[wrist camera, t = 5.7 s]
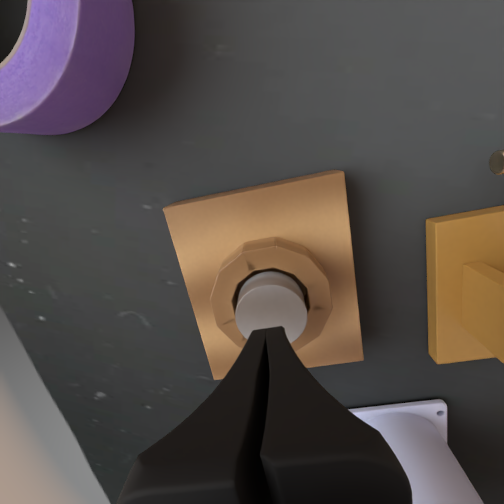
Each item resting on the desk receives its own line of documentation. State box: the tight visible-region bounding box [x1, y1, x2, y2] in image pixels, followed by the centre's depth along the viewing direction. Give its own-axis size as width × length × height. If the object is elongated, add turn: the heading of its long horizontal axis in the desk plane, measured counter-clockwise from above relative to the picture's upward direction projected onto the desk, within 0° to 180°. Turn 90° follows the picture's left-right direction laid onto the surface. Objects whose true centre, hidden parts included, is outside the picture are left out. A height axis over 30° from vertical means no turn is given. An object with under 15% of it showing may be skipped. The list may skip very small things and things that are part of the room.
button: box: [235, 271, 307, 343], centre depth 15 cm, size 4×4×2 cm
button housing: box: [163, 169, 364, 380], centre depth 18 cm, size 12×10×4 cm
